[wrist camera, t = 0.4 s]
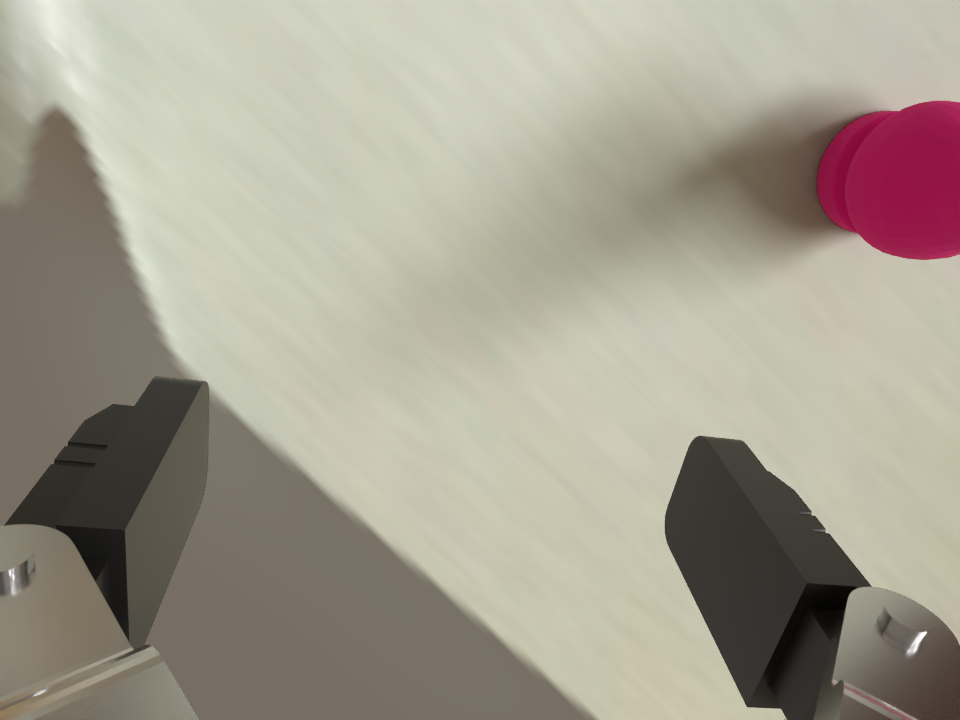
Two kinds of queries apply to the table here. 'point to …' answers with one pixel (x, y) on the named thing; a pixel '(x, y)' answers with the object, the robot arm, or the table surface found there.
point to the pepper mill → (897, 180)
